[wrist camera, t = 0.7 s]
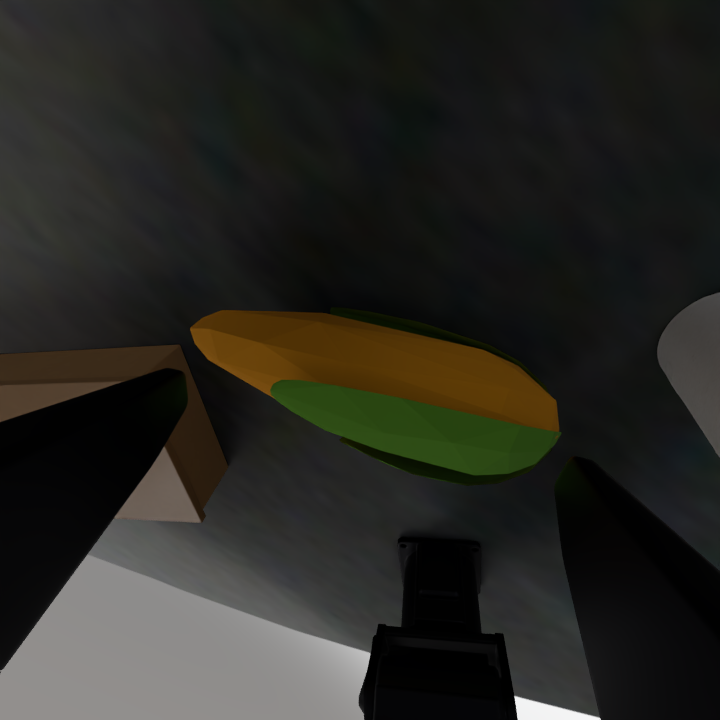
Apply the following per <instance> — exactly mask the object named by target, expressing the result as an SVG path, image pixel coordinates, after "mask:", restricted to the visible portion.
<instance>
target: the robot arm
mask: <svg viewBox="0 0 720 720" xmlns="http://www.w3.org/2000/svg"><path fill="white" fill-rule="evenodd" d="M187 404H188V392H187V382H186V375H185V373H184V372H183V371H181V370H176V369H172V368H164V369H161V370H158V371H154V372H151V373H148V374H145V375H142V376H139V377H136V378H133V379H130V380H127V381H124V382H121V383H118V384H115V385H112V386H109V387H106V388H103V389H99V390H96V391H93V392H90V393H87V394H84V395H81V396H78V397H75V398H72V399H69V400H66V401H63V402H60V403H57V404H54V405H51V406H47V407H44V408H41V409H38V410H35V411H32V412H29V413H26V414H23V415H20V416H17V417H14V418H11V419H8V420H5V421H2V422H0V670H2V669H3V668H4V667H5V666H6V664H7V663H8V662H9V660H10V659H11V657H12V656H13V655H14V653H15V652H16V651H17V649H18V648H19V647H20V645H21V644H22V643H23V641H24V640H25V639H26V637H27V636H28V634H29V633H30V632H31V630H32V629H33V628H34V626H35V625H36V623H37V622H38V621H39V619H40V618H41V617H42V615H43V614H44V613H45V611H46V610H47V609H48V607H49V606H50V604H51V603H52V602H53V600H54V599H55V597H56V596H57V595H58V594H59V592H60V591H61V589H62V588H63V587H64V585H65V584H66V583H67V581H68V580H69V579H70V577H71V576H72V574H73V573H74V572H75V570H76V569H77V568H78V566H79V565H80V563H81V562H82V561H83V559H84V558H85V557H86V555H87V554H88V553H89V551H90V550H91V549H92V547H93V546H94V544H95V543H96V542H97V540H98V539H99V538H100V536H101V535H102V534H103V532H104V531H105V529H106V528H107V527H108V525H109V524H110V523H111V521H112V520H113V519H114V517H115V516H116V515H117V513H118V512H119V510H120V509H121V508H122V506H123V505H124V504H125V502H126V501H127V500H128V498H129V497H130V495H131V494H132V493H133V491H134V490H135V489H136V487H137V486H138V485H139V483H140V482H141V480H142V479H143V478H144V476H145V475H146V474H147V472H148V471H149V469H150V468H151V467H152V465H153V464H154V462H155V461H156V459H157V458H158V456H159V454H160V453H161V451H162V449H163V448H164V446H165V444H166V442H167V441H168V439H169V437H170V435H171V434H172V432H173V430H174V429H175V427H176V425H177V423H178V422H179V420H180V418H181V416H182V415H183V413H184V411H185V409H186V407H187ZM554 491H555V500H556V508H557V517H558V525H559V533H560V542H561V549H562V556H563V561H564V565H565V570H566V574H567V578H568V583H569V587H570V591H571V595H572V600H573V604H574V608H575V612H576V617H577V621H578V625H579V629H580V634H581V638H582V642H583V646H584V650H585V655H586V659H587V663H588V667H589V672H590V676H591V680H592V684H593V689H594V693H595V697H596V701H597V706H598V710H599V714H600V718H601V720H720V571H719V570H718V569H717V568H716V567H715V566H714V565H712V564H711V563H710V562H709V561H708V560H707V559H706V558H704V557H703V556H702V555H701V554H700V553H699V552H697V551H696V550H695V549H694V548H693V547H692V546H691V545H689V544H688V543H687V542H686V541H685V540H684V539H683V538H681V537H680V536H679V535H678V534H677V533H676V532H675V531H673V530H672V529H671V528H670V527H669V526H668V525H666V524H665V523H664V522H663V521H662V520H661V519H660V518H658V517H657V516H656V515H655V514H654V513H653V512H652V511H650V510H649V509H648V508H647V507H646V506H645V505H643V504H642V503H641V502H640V501H639V500H638V499H637V498H635V497H634V496H633V495H632V494H631V493H630V492H629V491H627V490H626V489H625V488H624V487H623V486H622V485H620V484H619V483H618V482H617V481H616V480H615V479H614V478H612V477H611V476H610V475H609V474H608V473H607V472H606V471H604V470H603V469H602V468H601V467H600V466H599V465H598V464H596V463H595V462H594V461H592V460H590V459H586V458H581V457H577V456H574V457H571V458H570V459H569V460H568V461H567V463H566V465H565V467H564V468H563V470H562V472H561V473H560V475H559V477H558V479H557V481H556V483H555V490H554ZM397 546H398V553H399V560H400V568H401V575H402V582H403V587H404V590H403V607H402V623H401V627H394V626H386V624H378V628H377V633H376V635H374V637H373V642H372V650H371V655H370V660H369V665H368V670H367V673H366V677H365V679H364V682H363V685H362V688H361V691H360V695H359V706H360V708H361V710H362V712H363V713H364V720H518V719H517V712H516V705H515V698H514V692H513V686H512V681H511V675H510V669H509V664H508V658H507V652H506V646H505V641H504V635H503V633H495V634H483V633H482V632H481V621H480V611H479V601H478V594H479V593H480V580H481V545H480V543H478V542H476V541H461V540H441V539H422V538H399V539H398V545H397ZM0 673H1V672H0Z"/></svg>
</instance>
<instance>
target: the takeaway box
mask: <svg viewBox="0 0 720 720" xmlns="http://www.w3.org/2000/svg"><path fill="white" fill-rule="evenodd" d="M164 368H172V369H176V370H181V371H183V372H184V373H185V375H186V382H187V392H188V404H187V407H186V409H185V411H184V413H183V415H182V416H181V418H180V420H179V422H178V423H177V425H176V427H175V429H174V430H173V432H172V434H171V435H170V437H169V439H168V441H167V442H166V444H165V446H164V448H163V449H162V451H161V453H160V454H159V456H158V458H157V459H156V461H155V462H154V464H153V465H152V467H151V468H150V469H149V471H148V472H147V474H146V475H145V476H144V478H143V479H142V480H141V482H140V483H139V485H138V486H137V487H136V489H135V490H134V491H133V493H132V494H131V495H130V497H129V498H128V500H127V501H126V502H125V504H124V505H123V506H122V508H121V509H120V510H119V512H118V513H117V515H116V516H115V517H114V519H133V520H154V521H174V522H195V523H202V522H203V520H204V518H205V517H206V515H205V513H204V511H203V508H204V506H205V505H206V503H207V502H208V500H209V498H210V497H211V495H212V493H213V492H214V490H215V488H216V487H217V485H218V483H219V482H220V480H221V479H222V477H223V475H224V474H225V472H226V470H227V469H228V465H227V462H226V460H225V457H224V455H223V452H222V450H221V447H220V445H219V442H218V440H217V437H216V435H215V432H214V429H213V427H212V424H211V422H210V419H209V417H208V414H207V412H206V409H205V407H204V404H203V402H202V399H201V397H200V394H199V392H198V389H197V387H196V384H195V382H194V379H193V377H192V374H191V372H190V369H189V367H188V364H187V362H186V359H185V357H184V354H183V351H182V349H181V346H180V345H162V346H143V347H124V348H106V349H87V350H69V351H50V352H31V353H13V354H0V422H2V421H5V420H8V419H11V418H14V417H17V416H20V415H23V414H26V413H29V412H32V411H35V410H38V409H41V408H44V407H47V406H51V405H54V404H57V403H60V402H63V401H66V400H69V399H72V398H75V397H78V396H81V395H84V394H87V393H90V392H93V391H96V390H99V389H103V388H106V387H109V386H112V385H115V384H118V383H121V382H124V381H127V380H130V379H133V378H136V377H139V376H142V375H145V374H148V373H151V372H154V371H158V370H161V369H164Z"/></svg>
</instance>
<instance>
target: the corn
mask: <svg viewBox="0 0 720 720" xmlns="http://www.w3.org/2000/svg"><path fill="white" fill-rule="evenodd" d="M330 313H331V314H326V313H310V312H274V311H239V310H221V311H218V312H216V313H213V314H211V315H208V316H206V317H203V318H202V319H200V320H199V321H198V322H197V323H196V324H194V325H193V326H192V327H191V328H190V330H191V333H192V336H193V340H194V343H195V344H196V345H197V347H198V348H199V349H200V350H201V352H202V353H203V354H204V355H205V356H206V358H207V359H208V360H209V361H211V362H213V363H214V364H216V365H218V366H220V367H221V368H223V369H225V370H226V371H228V372H230V373H232V374H233V375H235V376H237V377H238V378H240V379H242V380H244V381H245V382H247V383H249V384H250V385H252V386H254V387H256V388H257V389H259V390H261V391H262V392H264V393H266V394H268V395H269V396H271V397H273V398H274V399H276V400H277V401H278V402H279V403H281V404H282V405H284V406H285V407H286V408H288V409H289V410H291V411H292V412H294V413H295V414H297V415H299V416H301V417H302V418H304V419H306V420H308V421H310V422H311V423H313V424H315V425H317V426H318V427H320V428H322V429H324V430H326V431H329V432H331V433H334V434H337V435H340V436H342V438H341V439H340V441H341V442H342V443H344V444H346V445H348V446H350V447H352V448H354V449H356V450H358V451H360V452H362V453H365V454H367V455H369V456H371V457H373V458H375V459H377V460H379V461H381V462H383V463H385V464H388V465H390V466H393V467H395V468H398V469H400V470H403V471H405V472H408V473H411V474H414V475H418V476H423V477H427V478H431V479H436V480H441V481H446V482H451V483H456V484H461V485H466V486H470V485H482V484H495V483H500V482H503V481H506V480H509V479H511V478H514V477H517V476H520V475H522V474H525V473H528V472H529V471H531V470H532V469H533V468H534V467H535V466H536V465H537V464H538V463H539V462H540V461H541V460H542V459H543V458H544V457H545V456H546V455H547V454H548V453H549V452H550V451H551V448H552V447H553V446H554V445H555V444H556V442H557V440H558V438H559V437H560V435H561V433H562V432H559V422H558V413H557V403H556V400H555V399H554V398H553V397H551V396H550V395H549V393H548V390H547V388H546V386H545V385H544V384H543V383H542V382H541V381H540V380H539V379H538V378H537V377H536V376H535V375H534V374H532V373H531V372H530V371H529V370H528V369H527V368H526V367H525V366H524V365H523V364H522V363H521V362H520V361H518V360H516V359H514V358H512V357H511V356H509V355H507V354H505V353H503V352H501V351H500V350H498V349H496V348H494V347H492V346H491V345H488V344H485V343H482V342H479V341H476V340H473V339H470V338H467V337H464V336H461V335H458V334H455V333H452V332H449V331H445V330H442V329H439V328H436V327H433V326H430V325H427V324H424V323H421V322H417V321H412V320H407V319H402V318H398V317H393V316H388V315H384V314H379V313H374V312H370V311H363V310H356V309H349V308H339V307H332V308H331V310H330Z"/></svg>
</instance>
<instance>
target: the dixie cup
mask: <svg viewBox="0 0 720 720" xmlns="http://www.w3.org/2000/svg"><path fill="white" fill-rule="evenodd" d="M657 357H658V361H659V364H660V366H661V368H662V370H663V371H664V373H665V374H666V376H667V377H668V380H669V381H670V383H671V385H672V386H673V388H674V389H675V391H676V392H677V394H678V395H679V396H680V398H681V399H682V400H683V402H684V404H685V405H686V407H687V408H688V410H689V411H690V413H691V414H692V416H693V417H694V419H695V420H696V422H697V424H698V425H699V427H700V428H701V430H702V431H703V433H704V434H705V436H706V437H707V439H708V440H709V442H710V443H711V445H712V447H713V448H714V450H715V451H716V453H717V454H718V456H719V457H720V292H719V293H716V294H713V295H710V296H706V297H704V298H701V299H699V300H697V301H696V302H694V303H692V304H691V305H689V306H687V307H686V308H685V309H683V310H682V311H681V312H680V313H678V314H677V315H676V316H675V317H674V318H673V319H672V320H671V322H670V323H669V324H668V325H667V327H666V328H665V330H664V331H663V333H662V335H661V337H660V340H659V343H658V348H657Z"/></svg>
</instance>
